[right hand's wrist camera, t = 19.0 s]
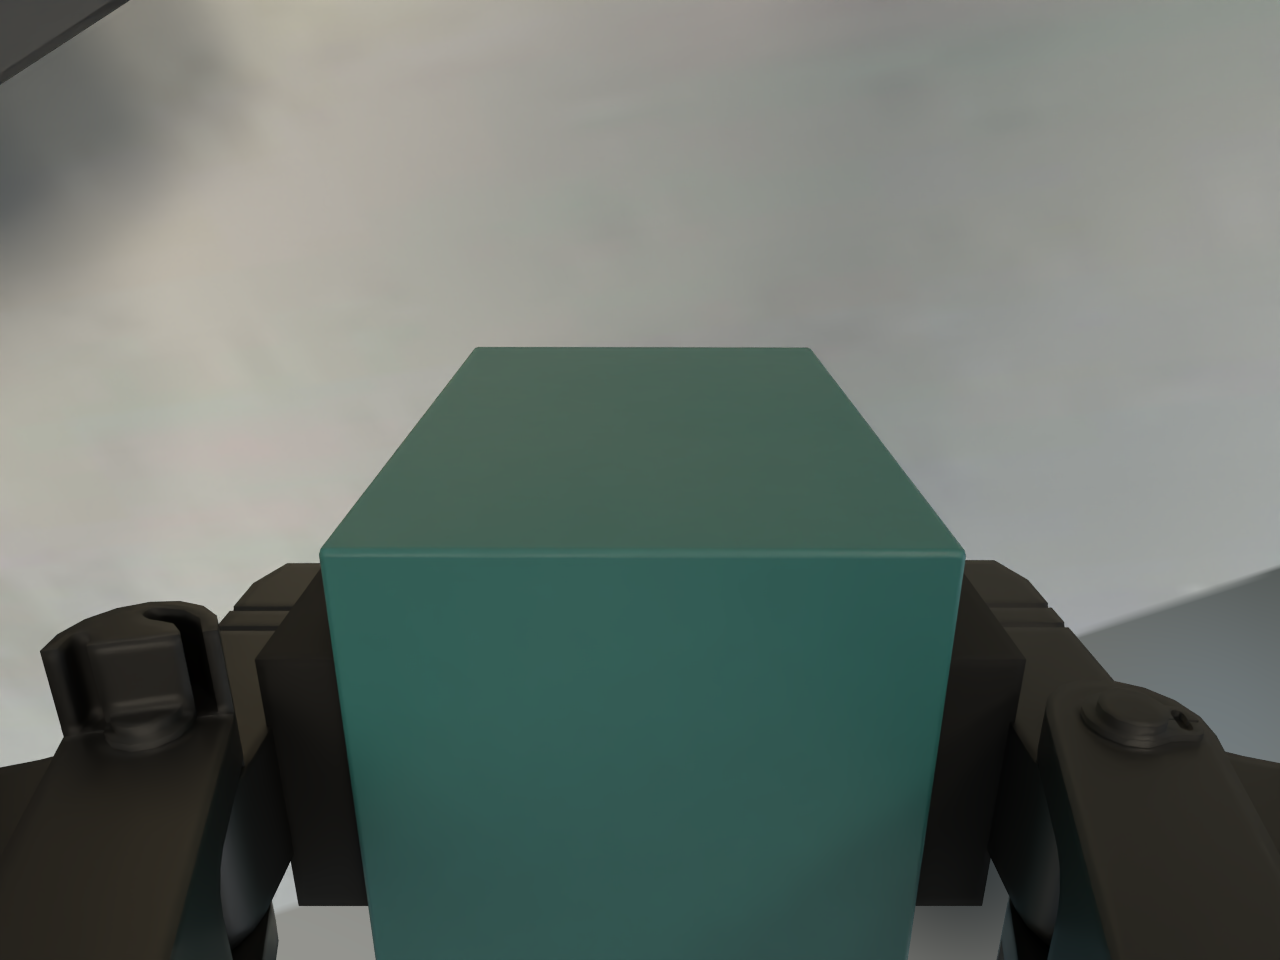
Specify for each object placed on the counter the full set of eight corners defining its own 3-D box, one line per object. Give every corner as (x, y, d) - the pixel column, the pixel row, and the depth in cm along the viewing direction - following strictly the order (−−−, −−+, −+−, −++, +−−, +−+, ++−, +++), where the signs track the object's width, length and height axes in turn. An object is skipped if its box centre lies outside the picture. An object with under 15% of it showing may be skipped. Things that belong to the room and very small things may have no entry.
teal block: (474, 346, 13) (313, 550, 7) (811, 347, 13) (969, 552, 7) (493, 639, 15) (381, 1020, 9) (790, 639, 15) (901, 1022, 9)
